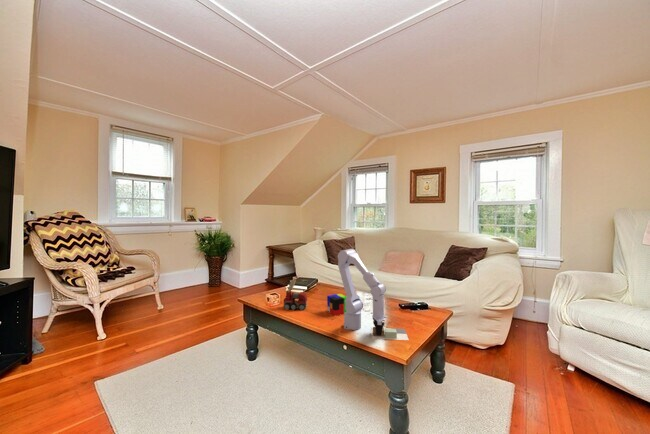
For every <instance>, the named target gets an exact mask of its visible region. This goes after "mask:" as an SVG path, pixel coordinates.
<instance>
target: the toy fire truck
mask: <svg viewBox="0 0 650 434" xmlns="http://www.w3.org/2000/svg"><path fill="white" fill-rule="evenodd" d="M296 281H297V280H296V279H291V280H290V283H289V285H288V288H287V289H288V290H286V292H285V293H286V294H285V297H284V299H283V308H284V310H286V309H289V310H290V309H291V310H292V311H295V310H296V309H299V310H300V311H303V310H305V309H306V308H307V306H308V296H307V294H306V293H305V292H303V291H300V292H292V290H293V289H294V286H295V284H296Z"/></svg>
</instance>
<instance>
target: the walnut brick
mask: <svg viewBox="0 0 650 434" xmlns="http://www.w3.org/2000/svg"><path fill="white" fill-rule="evenodd" d="M372 328H373V336H378V335H377V334H376V328H375V326H372ZM384 328H385V327H384V326H383V329H382V333H381V336H384Z"/></svg>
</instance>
